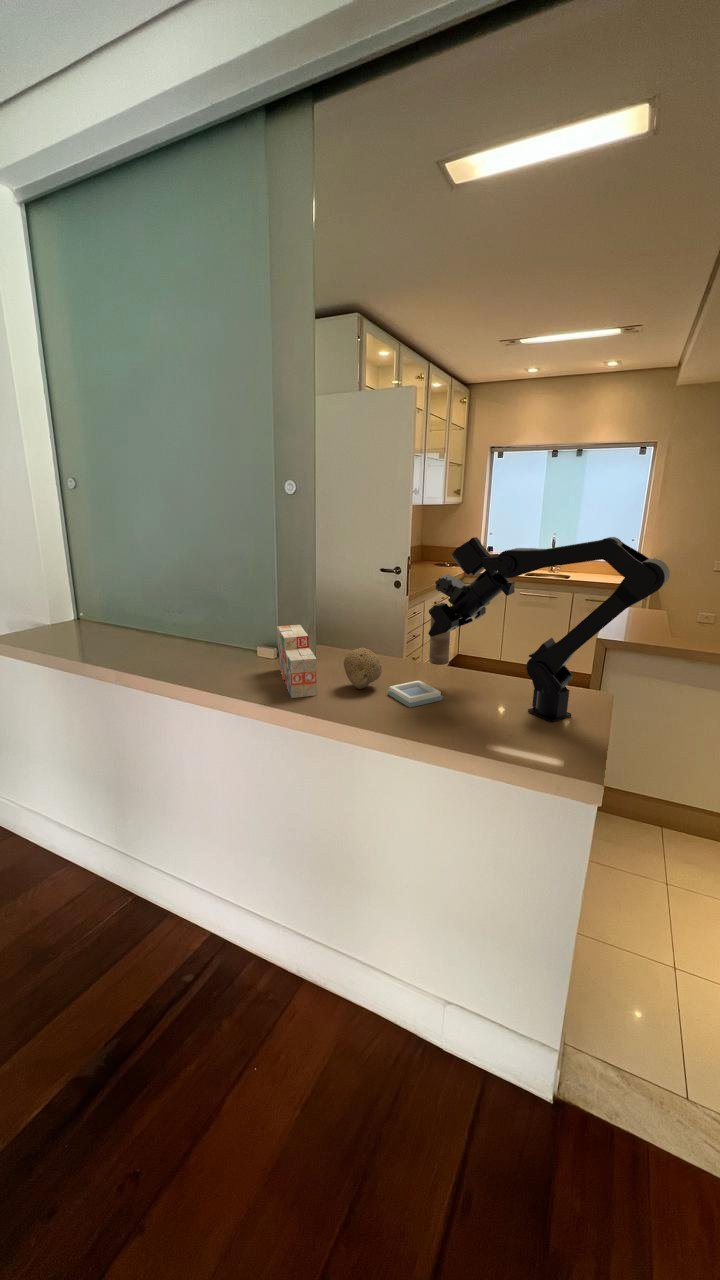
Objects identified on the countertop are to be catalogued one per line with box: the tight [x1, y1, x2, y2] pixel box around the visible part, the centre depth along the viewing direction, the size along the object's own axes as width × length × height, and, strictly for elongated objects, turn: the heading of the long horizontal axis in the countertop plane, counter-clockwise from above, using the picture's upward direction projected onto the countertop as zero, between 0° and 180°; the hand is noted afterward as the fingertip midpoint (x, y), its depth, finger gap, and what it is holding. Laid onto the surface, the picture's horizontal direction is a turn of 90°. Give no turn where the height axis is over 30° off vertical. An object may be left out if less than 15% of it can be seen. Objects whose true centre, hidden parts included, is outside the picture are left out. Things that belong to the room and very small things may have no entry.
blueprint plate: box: [387, 680, 443, 708], centre depth 119 cm, size 9×9×2 cm
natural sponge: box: [343, 647, 383, 690], centre depth 123 cm, size 9×9×10 cm
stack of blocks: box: [276, 624, 318, 699], centre depth 127 cm, size 21×6×12 cm, turn 16°
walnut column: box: [428, 615, 451, 666], centre depth 122 cm, size 5×5×13 cm
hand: (434, 632), depth 123 cm, fingers closed on walnut column, 5 cm apart
